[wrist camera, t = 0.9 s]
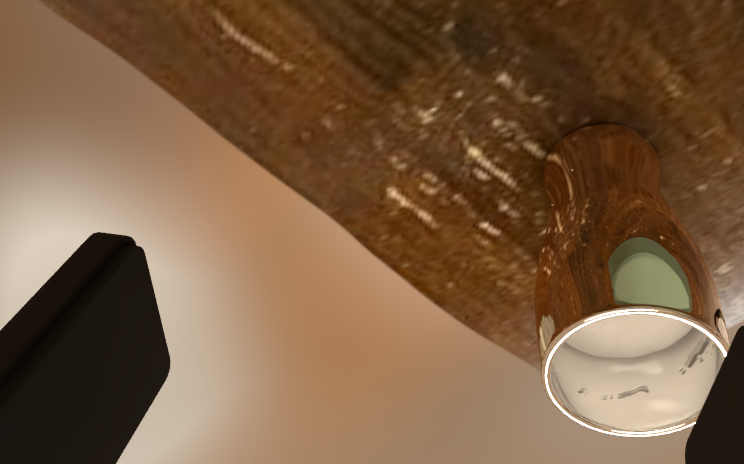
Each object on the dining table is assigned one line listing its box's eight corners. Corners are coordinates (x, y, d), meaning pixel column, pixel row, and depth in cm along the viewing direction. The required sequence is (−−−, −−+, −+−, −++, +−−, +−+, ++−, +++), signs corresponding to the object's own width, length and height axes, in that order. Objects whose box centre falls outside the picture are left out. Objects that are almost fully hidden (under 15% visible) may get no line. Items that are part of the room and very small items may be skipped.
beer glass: (682, 118, 33) (771, 315, 21) (653, 232, 37) (713, 453, 25) (541, 111, 34) (546, 293, 22) (527, 221, 38) (525, 428, 26)
